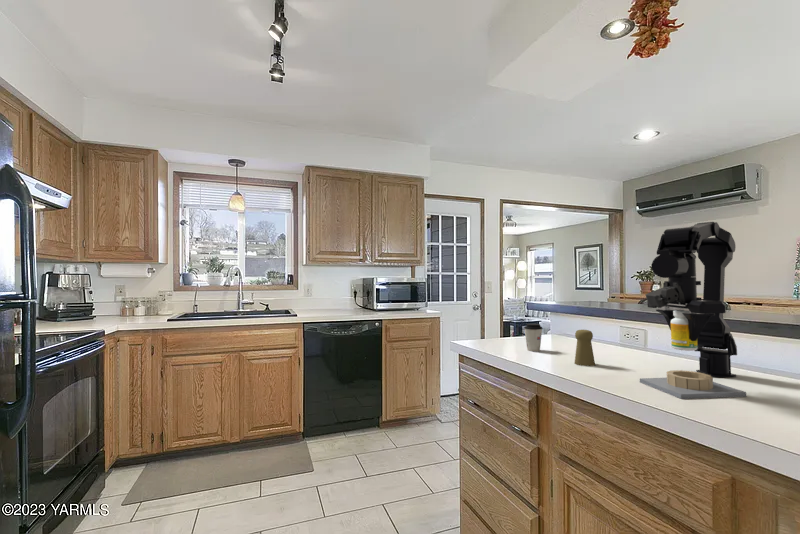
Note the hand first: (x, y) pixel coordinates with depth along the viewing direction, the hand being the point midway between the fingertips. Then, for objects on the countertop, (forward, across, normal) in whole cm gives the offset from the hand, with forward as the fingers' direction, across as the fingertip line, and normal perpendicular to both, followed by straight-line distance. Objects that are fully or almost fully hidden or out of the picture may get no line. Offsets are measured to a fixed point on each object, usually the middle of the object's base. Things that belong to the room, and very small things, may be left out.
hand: (684, 338), depth 97 cm
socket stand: (+12, +1, 0) cm, 12 cm away
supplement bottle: (+3, 0, 0) cm, 3 cm away
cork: (+13, -28, -11) cm, 33 cm away
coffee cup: (+13, -52, -19) cm, 57 cm away
